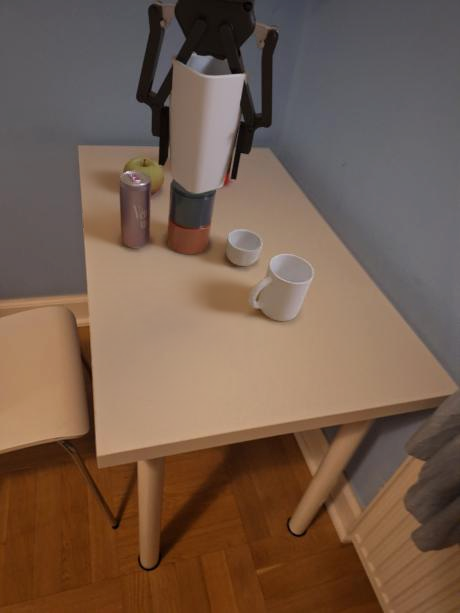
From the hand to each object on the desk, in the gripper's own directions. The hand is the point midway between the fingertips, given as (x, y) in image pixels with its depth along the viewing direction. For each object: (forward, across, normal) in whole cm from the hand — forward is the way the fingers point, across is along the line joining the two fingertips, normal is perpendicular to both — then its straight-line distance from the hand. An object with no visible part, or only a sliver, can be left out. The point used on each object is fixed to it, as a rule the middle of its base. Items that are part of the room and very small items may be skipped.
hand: (198, 167), depth 54 cm
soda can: (+30, 0, +53) cm, 61 cm away
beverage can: (+30, -14, +20) cm, 38 cm away
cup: (+3, 0, 0) cm, 3 cm away
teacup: (+30, +9, +21) cm, 37 cm away
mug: (+30, +16, +6) cm, 35 cm away
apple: (+30, -17, +40) cm, 53 cm away
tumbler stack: (+30, -3, +23) cm, 37 cm away
